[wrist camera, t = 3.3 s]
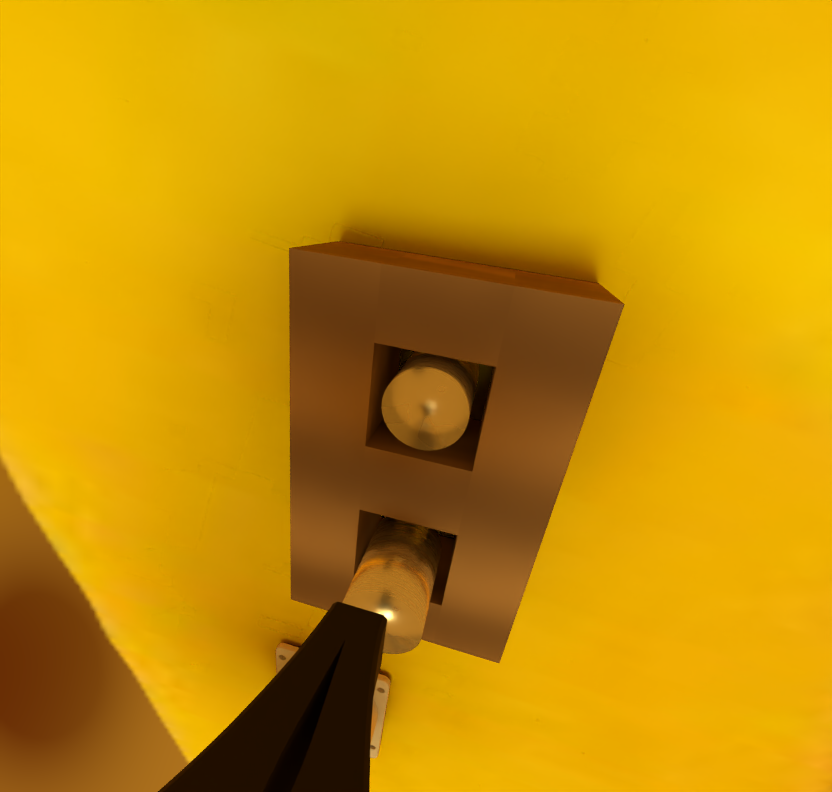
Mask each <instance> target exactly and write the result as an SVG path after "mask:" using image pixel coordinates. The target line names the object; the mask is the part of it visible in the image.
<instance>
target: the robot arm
mask: <svg viewBox="0 0 832 792" xmlns="http://www.w3.org/2000/svg"><path fill="white" fill-rule="evenodd" d="M386 626H387V619H386V617H385V616H384V615H382V614H378V613H375V612H371V611H368V610H365V609H361V608H358V607H355V606H351V605H348V604H345V603H341V602H335V603H333V604H332V606H331V607H330V609H329V610H328V612H327V613H326V615H325V616H324V617H323V619H322V620H321V621H320V623H319V624H318V625H317V627H316V628H315V629H314V631H313V632H312V633H311V634H310V636H309V637H308V638H307V639H306V641H305V642H304V643H303V644H302V645H301V647H300V648H298V647H295V646H292V645H289V644H286V643H280V644H279V645H278V646H277V648H276V672H277V675H276V676H275V677H274V678H273V679H272V680H271V682H270V683H269V684H268V685H267V686H266V687H265V688H264V689H263V690H262V691H261V692H260V693H259V695H258V696H257V697H256V698H255V699H254V700H253V701H252V702H251V703H250V704H249V705H248V706H247V707H246V708H245V709H244V710H243V711H242V712H241V713H240V714H239V716H238V717H237V718H236V719H235V720H234V721H233V722H232V723H231V724H230V725H229V726H228V727H227V728H226V729H225V730H224V731H223V732H222V733H221V734H220V735H219V736H218V737H217V738H216V739H215V740H214V741H213V742H212V743H211V744H209V745H208V746H207V747H206V748H205V749H204V750H203V751H202V752H201V753H200V754H199V755H198V756H197V757H196V758H195V759H194V760H193V761H191V762H190V763H189V764H188V765H187V766H186V767H185V768H184V769H183V770H182V771H181V772H180V773H178V774H177V775H176V776H175V777H174V778H173V779H172V780H171V781H169V782H168V783H167V784H166V785H165V786H164V787H163V788H162V789H160V791H158V792H369V776H370V758H376V757H377V756H378V753H379V748H380V742H381V736H382V730H383V724H384V718H385V712H386V706H387V701H388V695H389V689H390V680H389V678H388V677H386V676H384V675H381V674H379V671H380V667H381V661H382V654H383V647H384V640H385V633H386Z"/></svg>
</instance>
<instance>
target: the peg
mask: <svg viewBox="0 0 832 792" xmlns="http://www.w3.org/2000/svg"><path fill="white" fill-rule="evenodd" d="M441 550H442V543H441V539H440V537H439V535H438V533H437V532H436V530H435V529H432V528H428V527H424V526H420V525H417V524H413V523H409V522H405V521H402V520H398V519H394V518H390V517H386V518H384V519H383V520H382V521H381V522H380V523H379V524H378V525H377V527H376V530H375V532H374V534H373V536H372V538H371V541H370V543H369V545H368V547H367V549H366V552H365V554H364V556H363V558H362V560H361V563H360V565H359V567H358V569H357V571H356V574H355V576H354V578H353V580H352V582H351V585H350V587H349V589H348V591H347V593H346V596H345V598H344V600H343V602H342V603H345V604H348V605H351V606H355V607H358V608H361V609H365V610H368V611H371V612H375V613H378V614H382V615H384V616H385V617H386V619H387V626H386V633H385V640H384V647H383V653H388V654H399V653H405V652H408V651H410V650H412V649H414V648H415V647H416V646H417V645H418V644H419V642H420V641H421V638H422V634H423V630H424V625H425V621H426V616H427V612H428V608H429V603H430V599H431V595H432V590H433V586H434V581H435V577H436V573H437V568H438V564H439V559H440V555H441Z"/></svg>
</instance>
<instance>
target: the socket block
mask: <svg viewBox="0 0 832 792" xmlns="http://www.w3.org/2000/svg"><path fill="white" fill-rule="evenodd" d="M289 283H290V507H291V599H292V600H295V601H298V602H302V603H305V604H308V605H311V606H315V607H318V608H321V609H324V610H329V609H330V607H331V606H332V604H333V603H335V602H341V603H342V602H343V600H344V598H345V596H346V593H347V591H348V589H349V587H350V585H351V582H352V580H353V578H354V576H355V574H356V571H357V569H358V567H359V565H360V563H361V560H362V558H363V556H364V554H365V552H366V549H367V547H368V545H369V543H370V541H371V538H372V536H373V534H374V532H375V530H376V527H377V525H378V524H379V523H380V522H381V521H382V520H381V515H383V516H386V517H390V518H394V519H398V520H402V521H405V522H409V523H413V524H417V525H420V526H424V527H428V528H432V529H436V530H439V531H443V532H447V533H451V534H454V535H456V536H455V539H451V538H447V537H444V536H440V535H439V537H440V539H441V543H442V550H441V555H440V559H439V564H438V568H437V573H436V577H435V581H434V586H433V590H432V595H431V599H430V603H429V608H428V612H427V616H426V621H425V625H424V630H423V634H422V638H421V639H422V640H425V641H428V642H432V643H435V644H438V645H441V646H445V647H448V648H451V649H454V650H458V651H461V652H464V653H467V654H471V655H474V656H477V657H480V658H484V659H487V660H490V661H493V662H497V663H499V662H500V660H501V657H502V654H503V651H504V648H505V645H506V642H507V639H508V637H509V634H510V631H511V628H512V625H513V622H514V619H515V617H516V614H517V611H518V608H519V605H520V602H521V599H522V596H523V594H524V591H525V588H526V585H527V582H528V579H529V576H530V573H531V571H532V568H533V565H534V562H535V559H536V556H537V553H538V551H539V548H540V545H541V542H542V539H543V536H544V533H545V530H546V528H547V525H548V522H549V519H550V516H551V513H552V510H553V507H554V505H555V502H556V499H557V496H558V493H559V490H560V487H561V485H562V482H563V479H564V476H565V473H566V470H567V467H568V464H569V462H570V459H571V456H572V453H573V450H574V447H575V444H576V441H577V439H578V436H579V433H580V430H581V427H582V424H583V421H584V419H585V416H586V413H587V410H588V407H589V404H590V401H591V398H592V396H593V393H594V390H595V387H596V384H597V381H598V378H599V375H600V373H601V370H602V367H603V364H604V361H605V358H606V355H607V353H608V350H609V347H610V344H611V341H612V338H613V335H614V332H615V330H616V327H617V324H618V321H619V318H620V315H621V312H622V309H623V307H624V304H623V303H622V302H621V301H620V300H618V299H617V298H616V297H615V296H613V295H612V294H611V293H610V292H609V291H607V290H606V289H605V288H604V287H602V286H601V285H600V284H599V283H594V282H588V281H582V280H575V279H569V278H563V277H557V276H551V275H545V274H538V273H532V272H526V271H520V270H514V269H508V268H501V267H495V266H489V265H483V264H477V263H471V262H464V261H458V260H452V259H446V258H440V257H434V256H427V255H421V254H415V253H409V252H403V251H396V250H390V249H384V248H378V247H372V246H366V245H359V244H353V243H347V242H341V241H338V242H330V243H323V244H316V245H308V246H301V247H294V248H289ZM401 348H403V349H408V350H413V351H418V352H423V353H428V354H433V355H438V356H443V357H448V358H453V359H458V360H464V361H469V362H474V363H479V364H484V365H489V366H494V367H493V371H492V376H491V380H490V385H489V389H488V394H487V398H486V402H485V407H484V411H483V416H482V420H481V421H478V420H474V419H469V420H468V424H467V427H466V429H465V431H464V433H463V434H462V436H461V437H460V438H459V439H458V440H457V441H456V442H455V443H453V444H452V445H450V446H448V447H446V448H443V449H439V450H430V451H429V450H420V449H416V448H413V447H410V446H408V445H406V444H404V443H403V442H401V441H400V440H399V439H397V438H396V437H395V436H394V435H393V434H392V432H391V431H390V430H389V428H388V427H387V425H386V423H385V421H384V418H383V414H382V398H383V395H384V392H385V390H386V388H387V387H388V385H389V384H390V383H391V381H392V380H393V379H394V377H395V376H396V375H397V373H398V367H399V359H400V351H401Z"/></svg>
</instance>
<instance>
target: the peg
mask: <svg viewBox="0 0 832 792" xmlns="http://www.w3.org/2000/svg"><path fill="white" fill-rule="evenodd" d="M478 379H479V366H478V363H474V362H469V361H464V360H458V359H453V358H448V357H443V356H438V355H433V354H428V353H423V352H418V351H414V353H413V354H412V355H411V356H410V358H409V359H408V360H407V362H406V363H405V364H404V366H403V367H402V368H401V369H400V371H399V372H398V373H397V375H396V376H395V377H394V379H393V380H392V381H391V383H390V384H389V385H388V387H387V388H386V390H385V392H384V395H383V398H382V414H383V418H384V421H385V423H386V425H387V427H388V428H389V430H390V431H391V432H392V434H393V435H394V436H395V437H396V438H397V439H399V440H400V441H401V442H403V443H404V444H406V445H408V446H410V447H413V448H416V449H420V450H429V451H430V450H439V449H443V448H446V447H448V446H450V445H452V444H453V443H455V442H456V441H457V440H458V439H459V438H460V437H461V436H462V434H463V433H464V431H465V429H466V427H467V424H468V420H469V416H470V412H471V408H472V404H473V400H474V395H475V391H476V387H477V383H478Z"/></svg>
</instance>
